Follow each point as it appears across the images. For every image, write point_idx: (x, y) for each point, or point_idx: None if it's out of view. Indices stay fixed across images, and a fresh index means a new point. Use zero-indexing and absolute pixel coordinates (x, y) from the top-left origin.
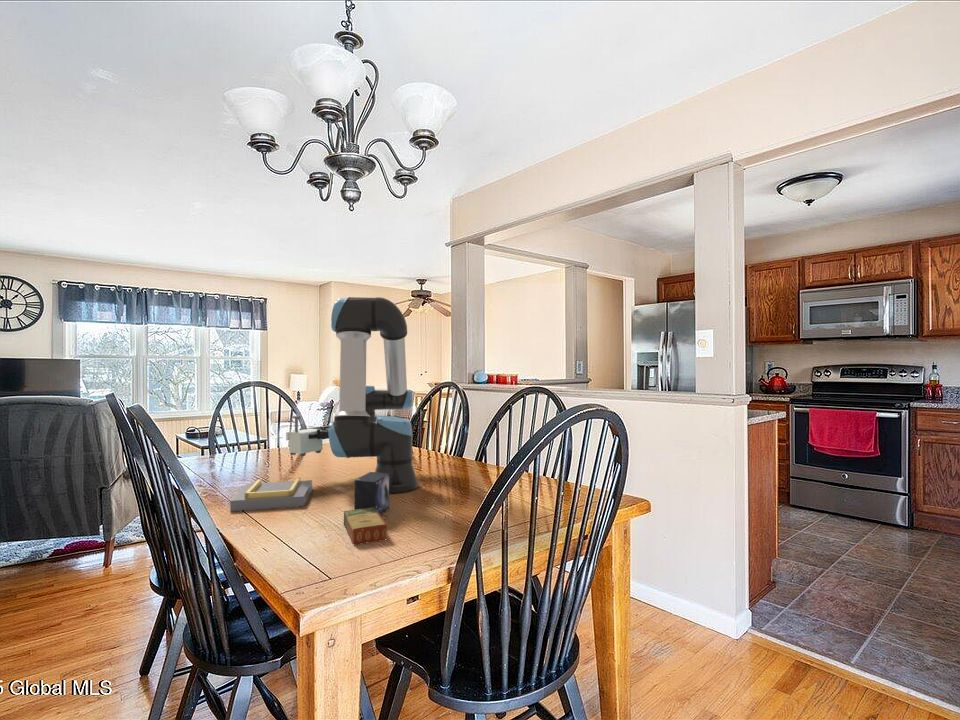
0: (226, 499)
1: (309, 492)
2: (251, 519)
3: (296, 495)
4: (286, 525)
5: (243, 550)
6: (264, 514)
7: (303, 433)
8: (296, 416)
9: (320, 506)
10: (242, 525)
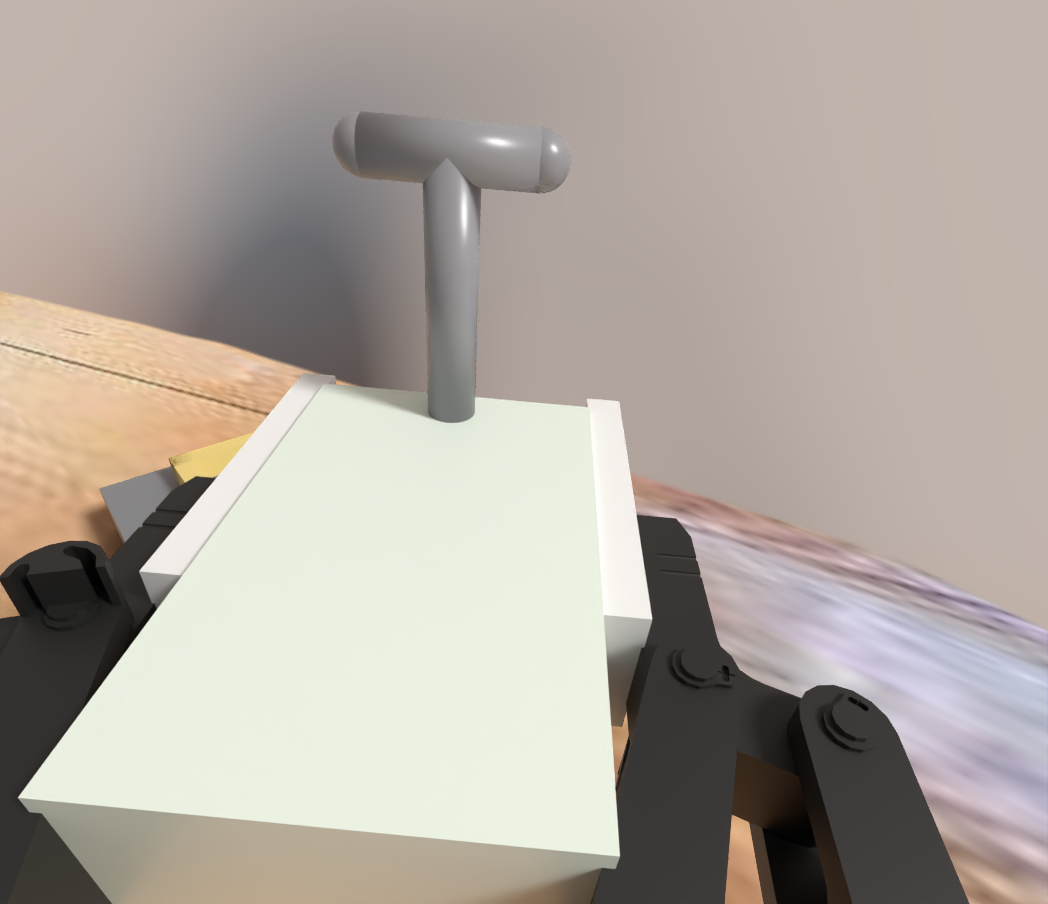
0: None
1: None
2: (264, 408)
3: (152, 487)
4: (95, 407)
5: (135, 324)
6: None
7: (281, 402)
8: (423, 124)
9: (15, 556)
10: (255, 382)
